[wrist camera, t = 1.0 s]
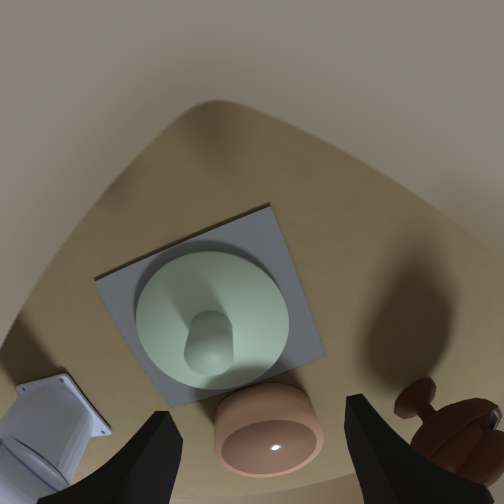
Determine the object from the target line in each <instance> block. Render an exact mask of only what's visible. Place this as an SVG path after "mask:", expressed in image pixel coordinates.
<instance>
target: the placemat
mask: <svg viewBox="0 0 504 504" xmlns="http://www.w3.org/2000/svg"><path fill="white" fill-rule="evenodd" d="M198 251H221V252H227V253H231V254H234V255H238V256H241V257H243V258H245V259H247V260H249V261H251V262H253V263H254V264H256V265H257V266H259V267H260V268H261V269H262V270H263V271H265V272H266V273H267V274H268V275H269V276H270V277H271V279H272V280H273V281H274V282H275V284H276V285H277V287H278V288H279V290H280V292H281V294H282V296H283V299H284V301H285V304H286V307H287V310H288V316H289V331H288V337H287V341H286V344H285V347H284V349H283V351H282V353H281V355H280V356H279V358H278V359H277V361H276V362H275V363H274V364H273V366H272V367H271V368H270V369H269V370H267V371H266V372H265V373H264V374H263V375H261V376H260V377H258V378H257V379H255V380H253V381H251V382H249V383H247V384H244V385H241V386H238V387H234V388H229V389H219V390H212V389H202V388H196V387H193V386H189V385H186V384H184V383H181V382H179V381H177V380H175V379H173V378H171V377H170V376H168V375H167V374H166V373H164V372H163V371H162V370H161V369H159V368H158V367H157V366H156V365H155V364H154V363H153V361H152V360H151V359H150V358H149V356H148V355H147V353H146V352H145V350H144V348H143V346H142V344H141V342H140V339H139V336H138V332H137V327H136V310H137V305H138V301H139V298H140V295H141V293H142V291H143V289H144V287H145V286H146V284H147V283H148V281H149V280H150V279H151V278H152V276H153V275H154V274H155V273H156V272H157V271H158V270H159V269H160V268H161V267H162V266H164V265H165V264H167V263H168V262H170V261H172V260H173V259H175V258H177V257H180V256H183V255H185V254H188V253H193V252H198ZM94 283H95V285H96V287H97V289H98V291H99V293H100V295H101V297H102V299H103V301H104V303H105V305H106V307H107V309H108V310H109V312H110V314H111V316H112V318H113V319H114V321H115V323H116V325H117V327H118V328H119V330H120V332H121V333H122V335H123V337H124V338H125V340H126V342H127V343H128V345H129V347H130V348H131V350H132V352H133V353H134V355H135V356H136V358H137V360H138V361H139V363H140V364H141V366H142V367H143V369H144V370H145V372H146V373H147V375H148V376H149V378H150V379H151V381H152V382H153V384H154V385H155V386H156V388H157V389H158V391H159V392H160V393H161V395H162V396H163V398H164V399H165V400H166V402H167V403H168V404H169V406H170V407H175V406H179V405H183V404H187V403H191V402H195V401H198V400H202V399H205V398H209V397H212V396H216V395H219V394H222V393H225V392H229V391H232V390H235V389H238V388H241V387H244V386H247V385H250V384H253V383H256V382H259V381H262V380H264V379H267V378H270V377H273V376H275V375H278V374H281V373H283V372H286V371H289V370H291V369H294V368H296V367H299V366H301V365H304V364H306V363H309V362H311V361H313V360H316V359H318V358H321V357H323V356H325V353H324V350H323V347H322V344H321V341H320V338H319V336H318V333H317V330H316V327H315V324H314V321H313V318H312V315H311V312H310V310H309V307H308V304H307V301H306V298H305V295H304V293H303V290H302V287H301V284H300V282H299V279H298V276H297V273H296V271H295V268H294V265H293V262H292V260H291V257H290V254H289V252H288V249H287V246H286V244H285V241H284V238H283V236H282V233H281V230H280V228H279V225H278V222H277V220H276V217H275V215H274V212H273V209H272V207H271V206H269V207H266V208H264V209H261V210H259V211H256V212H254V213H251V214H249V215H246V216H244V217H241V218H239V219H236V220H234V221H232V222H229V223H227V224H224V225H222V226H219V227H217V228H215V229H212V230H210V231H207V232H205V233H203V234H200V235H198V236H196V237H193V238H191V239H188V240H186V241H184V242H181V243H179V244H177V245H174V246H172V247H170V248H168V249H165V250H163V251H161V252H158V253H156V254H154V255H152V256H149V257H147V258H145V259H143V260H140V261H138V262H136V263H134V264H131V265H129V266H127V267H125V268H123V269H120V270H118V271H116V272H114V273H112V274H109V275H107V276H105V277H103V278H101V279H99V280H96V281H95V282H94Z"/></svg>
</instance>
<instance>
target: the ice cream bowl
mask: <svg viewBox="0 0 504 504" xmlns="http://www.w3.org/2000/svg"><path fill="white" fill-rule="evenodd" d="M435 392H436V385H435V383H434V382H433V381H432V380H431V379H430V378H429V379H423V380H418V381H416V382H415V383H414V384H412V385H411V386H409V387H408V388H407V389H405V390H404V391H403V393H402V394H401V395H400V397H399V398H398V399H397V401H396V402H395V409H394V413H395V414H396V415H398V416H399V417H401V418H402V419H407V418H411V417H415V416H417V415H418V416H419V417H420V418H421V420H422V421H423V425H422V426H421V427H420V428H419V429H418V430H417V432H416V433H415V435H414V436H413V438H412V441H411V444H410V446H412V447H413V448H414V449H415V450H417V451H418V452H419V453H421V454H422V455H423V456H425V457H426V458H428V459H429V460H431V461H432V462H434V463H436V464H437V465H439V466H441V467H443V468H445V469H447V470H448V471H450V472H452V473H454V474H456V475H459V476H461V477H463V478H466V479H468V480H471V481H474V482H477V483H480V484H483V485H485V486H486V487H487V488H488V487H489V486H491V485H492V484H493V483H494V482H495V481H497V480H498V479H499V478H500V477H501V475H502V474H503V473H504V432H502V431H499V430H496V428H497V426H498V424H499V422H500V420H501V417H502V413H501V411H500V409H499V407H498V405H496V404H494V403H492V402H491V401H489V400H486V399H481V398H473V399H468V400H463V401H460V402H457V403H453V404H450V405H447V406H445V407H443V408H441V409H439V410H438V411H436V410H434V408H433V407H432V406H431V404H430V403H431V402H432V400H433V399H434V397H435Z"/></svg>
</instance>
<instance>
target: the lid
mask: <svg viewBox="0 0 504 504" xmlns="http://www.w3.org/2000/svg"><path fill="white" fill-rule="evenodd" d="M136 327H137V332H138V336H139V339H140V342H141V344H142V346H143V348H144V350H145V352H146V353H147V355H148V356H149V358H150V359H151V360H152V361H153V363H154V364H155V365H156V366H157V367H158V368H159V369H161V370H162V371H163V372H164V373H166V374H167V375H168V376H170V377H171V378H173V379H175V380H177V381H179V382H181V383H184V384H186V385H189V386H193V387H196V388H202V389H212V390H219V389H229V388H234V387H238V386H241V385H244V384H247V383H249V382H251V381H253V380H255V379H257V378H258V377H260V376H261V375H263V374H264V373H265V372H266V371H267V370H269V369H270V368H271V367H272V366H273V364H274V363H275V362H276V361H277V359H278V358H279V356H280V355H281V353H282V351H283V349H284V347H285V344H286V341H287V337H288V331H289V316H288V310H287V307H286V304H285V301H284V299H283V296H282V294H281V292H280V290H279V288H278V287H277V285H276V284H275V282H274V281H273V280H272V279H271V277H270V276H269V275H268V274H267V273H266V272H265V271H263V270H262V269H261V268H260V267H259V266H257V265H256V264H254V263H253V262H251V261H249V260H247V259H245V258H243V257H241V256H238V255H234V254H231V253H227V252H221V251H198V252H193V253H188V254H185V255H183V256H180V257H177V258H175V259H173V260H172V261H170V262H168V263H167V264H165V265H164V266H162V267H161V268H160V269H159V270H158V271H157V272H156V273H155V274H154V275H153V276H152V278H151V279H150V280H149V281H148V283H147V284H146V286H145V287H144V289H143V291H142V293H141V295H140V298H139V301H138V305H137V310H136Z"/></svg>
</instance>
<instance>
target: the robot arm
mask: <svg viewBox="0 0 504 504" xmlns="http://www.w3.org/2000/svg"><path fill="white" fill-rule="evenodd" d="M16 389H17V391H18V392H19V394H20V396H19V397H18V398H17V400H16V401H15V402H14V403H13V405H12V406H11V407H10V408H9V410H8V411H7V412H6V414H5V415H4V416H3V417H2V419H1V420H0V504H169V501H170V497H171V493H172V490H173V486H174V483H175V479H176V475H177V472H178V468H179V464H180V460H181V454H182V445H183V439H182V437H181V435H180V433H179V431H178V429H177V427H176V425H175V423H174V421H173V419H172V417H171V415H170V413H169V411H155V412H154V413H153V414H152V416H151V417H150V418H149V419H148V420H147V421H146V422H145V423H144V425H143V426H142V427H141V428H140V429H139V430H138V431H137V433H136V434H135V435H134V436H133V437H132V438H131V439H130V440H129V441H128V442H127V443H126V445H125V446H124V447H123V448H122V449H121V450H119V451H118V452H117V453H116V454H115V455H114V456H113V457H112V458H111V459H110V460H109V461H108V462H106V463H105V464H104V465H103V466H101V467H100V468H99V469H97V470H96V471H95V472H93V473H92V474H90V475H89V476H87V477H86V478H84V479H82V480H81V481H79V482H77V483H76V484H74V485H72V486H69V485H70V483H71V480H72V478H73V476H74V473H75V471H76V469H77V466H78V464H79V462H80V459H81V457H82V455H83V452H84V450H85V448H86V446H87V443H88V441H89V439H90V437H95V436H104V435H111V433H112V430H111V429H110V427H109V426H108V425H107V424H106V423H105V422H104V420H103V419H102V418H101V417H100V416H99V414H98V413H97V412H96V411H95V410H94V408H93V407H92V406H91V405H90V403H89V402H88V401H87V399H86V398H85V397H84V396H83V394H82V393H81V392H80V390H79V389H78V387H77V386H76V385H75V383H74V382H73V381H72V379H71V378H70V376H69V375H68V374H66V373H63V374H59V375H55V376H51V377H48V378H44V379H40V380H36V381H32V382H28V383H24V384H20V385H17V387H16ZM344 430H345V435H346V440H347V445H348V449H349V452H350V456H351V459H352V462H353V465H354V468H355V471H356V474H357V477H358V480H359V483H360V487H361V490H362V494H363V498H364V504H493V503H494V500H493V498H492V496H491V493H490V492H489V490H488V489H487V487H486V486H485V485H483V484H480V483H477V482H474V481H471V480H468V479H466V478H463V477H461V476H459V475H456V474H454V473H452V472H450V471H448V470H447V469H445V468H443V467H441V466H439V465H437V464H436V463H434V462H432V461H431V460H429V459H428V458H426V457H425V456H423V455H422V454H421V453H419V452H418V451H417V450H415V449H414V448H413V447H412V446H410V445H409V444H408V443H407V442H406V441H405V440H404V439H402V438H401V437H400V436H399V435H398V434H397V433H396V432H395V431H394V430H393V429H392V428H391V427H390V426H389V425H388V424H387V423H386V422H385V421H384V420H383V418H382V417H381V416H380V415H379V414H378V413H377V412H376V410H375V409H374V408H373V407H372V406H371V404H370V403H369V402H368V400H367V399H366V398H365V396H364V395H363V394H356V395H352V396H347V397H346V409H345V422H344Z"/></svg>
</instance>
